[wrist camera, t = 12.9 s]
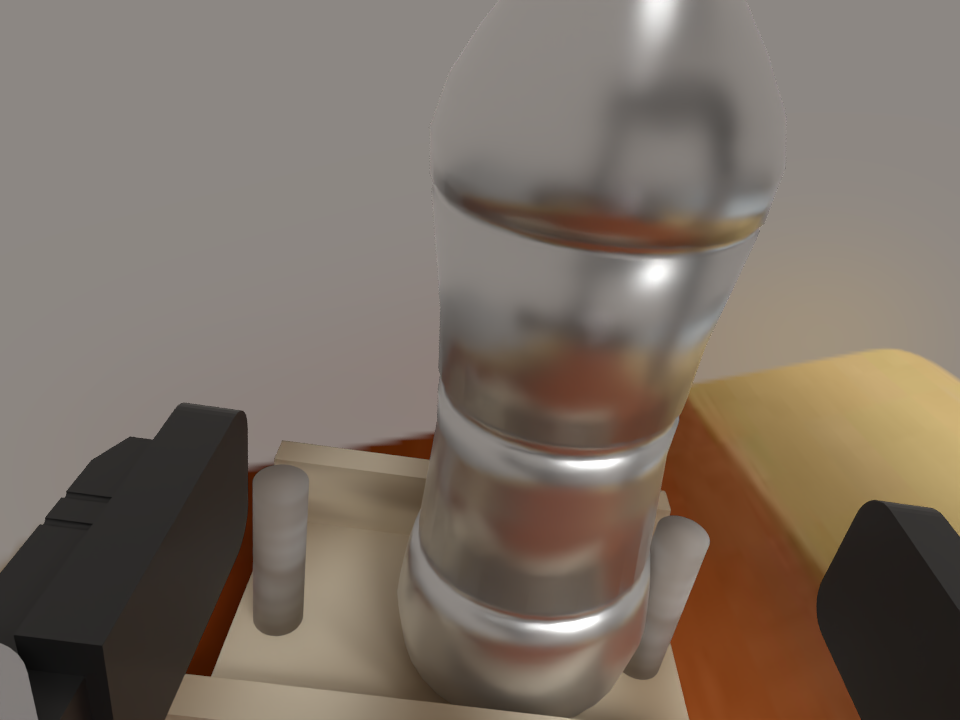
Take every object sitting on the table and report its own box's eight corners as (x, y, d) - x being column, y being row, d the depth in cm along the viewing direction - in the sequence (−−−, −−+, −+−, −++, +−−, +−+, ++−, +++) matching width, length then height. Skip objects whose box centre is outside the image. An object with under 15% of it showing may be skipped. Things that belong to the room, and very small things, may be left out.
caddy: (635, 575, 27) (685, 431, 24) (700, 874, 18) (792, 708, 15) (280, 530, 26) (283, 376, 23) (173, 818, 18) (154, 634, 15)
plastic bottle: (377, 586, 23) (400, -224, 13) (577, 556, 25) (737, -170, 15) (419, 790, 18) (515, -306, 8) (670, 733, 20) (1017, -206, 9)
